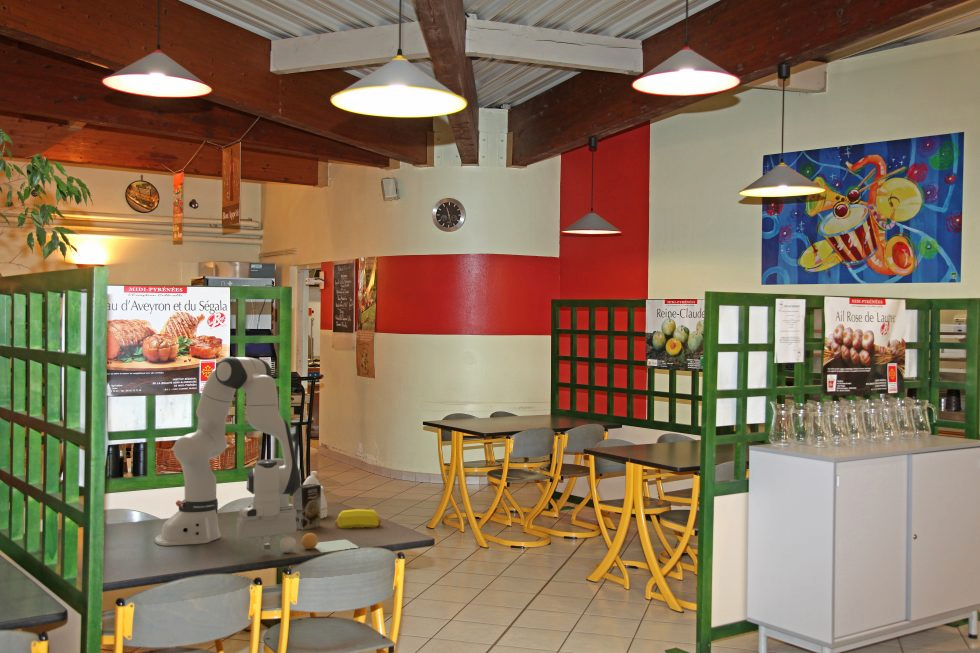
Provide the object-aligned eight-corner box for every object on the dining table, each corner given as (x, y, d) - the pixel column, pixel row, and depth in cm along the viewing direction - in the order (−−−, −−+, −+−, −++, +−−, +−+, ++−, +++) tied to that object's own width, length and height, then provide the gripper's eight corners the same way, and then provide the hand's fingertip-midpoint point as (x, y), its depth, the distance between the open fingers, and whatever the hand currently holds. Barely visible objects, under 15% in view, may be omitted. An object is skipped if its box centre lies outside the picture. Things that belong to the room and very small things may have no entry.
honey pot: (305, 512, 375) (306, 469, 375) (332, 514, 371) (333, 471, 371) (288, 518, 363) (289, 473, 363) (316, 520, 359) (317, 475, 359)
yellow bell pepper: (381, 528, 346) (381, 524, 354) (381, 511, 346) (381, 507, 354) (334, 529, 343) (334, 525, 351) (334, 512, 343) (335, 508, 351)
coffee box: (303, 530, 341) (303, 488, 341) (291, 528, 345) (292, 486, 345) (321, 526, 348) (321, 484, 348) (310, 524, 352) (310, 483, 352)
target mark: (321, 552, 307) (321, 552, 307) (308, 544, 319) (308, 543, 319) (359, 548, 314) (359, 547, 314) (345, 539, 326) (345, 539, 326)
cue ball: (295, 539, 304) (298, 552, 306) (293, 531, 309) (296, 544, 311) (279, 544, 303) (283, 558, 305) (277, 536, 308) (280, 549, 310)
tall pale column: (263, 511, 376) (263, 458, 376) (264, 509, 380) (265, 457, 380) (289, 511, 377) (289, 458, 377) (290, 509, 381) (290, 457, 381)
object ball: (302, 540, 308) (316, 531, 311) (297, 536, 313) (310, 528, 315) (308, 553, 309) (322, 545, 312) (303, 550, 314) (317, 542, 316)
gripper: (293, 504, 313) (293, 543, 312) (234, 509, 302) (234, 550, 302) (299, 507, 307) (299, 547, 307) (239, 512, 297) (238, 554, 297)
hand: (266, 549), depth 305 cm, fingers closed
